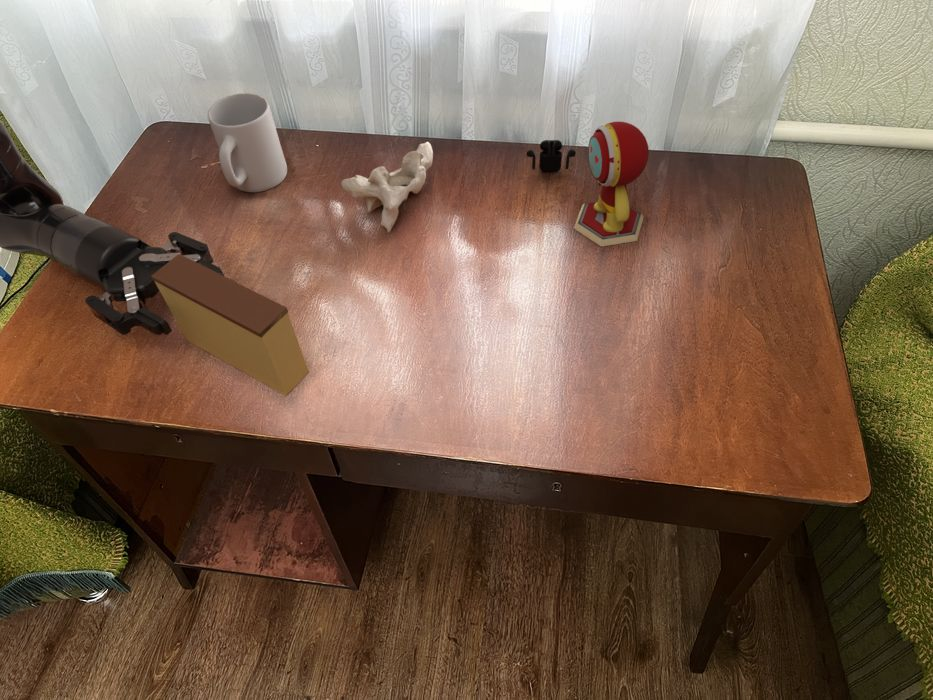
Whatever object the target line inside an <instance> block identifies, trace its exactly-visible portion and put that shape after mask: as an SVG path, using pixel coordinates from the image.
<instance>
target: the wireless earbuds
mask: <svg viewBox="0 0 933 700" xmlns="http://www.w3.org/2000/svg"><path fill="white" fill-rule="evenodd" d="M539 148H540V150H541V151H540V152H539V164H538V167H539V170H540V171H541V172H558V171H560V170H561V168H562V160H563V159H562V158H563V153H562V151H561V149H562V148H563V143H562V141H561V140H560V139H545V140H542V141H541V142H540V144H539ZM576 153H577V151H575V150H574V149H572V148H571V149H569V150H567V153H566V159H565V167H564V168H565V170H569V167H570V158H573V157H575V156H576V155H577V154H576ZM526 156H527V157H528V158H532V162H531V164H532V165H531V169H532V170H535V169H536V159H537V158H536V153H535V150H534V149H528V150H527V151H526Z"/></svg>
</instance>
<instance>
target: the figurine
mask: <svg viewBox="0 0 933 700" xmlns="http://www.w3.org/2000/svg"><path fill="white" fill-rule="evenodd" d="M587 147H588V149H587V156H588V165H589V169H590V172H591V174H592V176H593V178H594V179H595V180H596V181H597V185H598V186H601V187H600V190H599V196H598V199H597V200H593V201H587V202H584V203H583V204H582V205H581V208H580V210H579V213H578V215H577V218H576V221H575V224H574V226H573V230H575V231H577V232H578V233H580V234H581V235H583V236H584V237H586V238H587V239H589V240H590V241H592V242H593V243H595V244H596V245H598V246H600V247H602V248H603V247H608V246H615V245H621V244H627V243H633V242H638V239H639V235H640V232H641V229H642V224H643V221H644V215H643V214H642V212H640V211H638V210H637V209H635V208H633V207H632V206H630V202H629V196H628V189H627V185H629V184H631V183H633V182H634V181H636V180H637V179H638V178H639V177H641V175H642V173H643V172H644V170H645V169H646V167H647V164H648V162H649V161H648V160H649V155H650V150H649V144H648V141H647V138H646V136H645V135H644V133H643V132H642V131H641V130H640V128H638V127H636V125H634V124H632V123H629V122H626V121H619V120H618V121H611V122H608V123H605V124H604V125H600V126H598V127H597V128H596V129H595V130H594V132H593V135H591V137H590V138H589V141H588V145H587Z"/></svg>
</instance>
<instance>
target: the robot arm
mask: <svg viewBox="0 0 933 700" xmlns="http://www.w3.org/2000/svg"><path fill="white" fill-rule="evenodd" d="M7 129H8V128H7V127H6V125H4V123H3V121H2V120H1V119H0V248H1V249H3V250H6V251H8V252H9V251H10V252H14V253H19V254H26V255H33V256H39V257H46V258H47V259H50V260H51V261H52V262H55V263H56V264H59V265H60V266H62V267H63V268H64V269H66V270H67V271H68V272H69V273H71V274H73V275H74V276H75V277H77V278H78V279H80V280H83V281H85V282H86V283H88V284H90V285H92V286H94V287H95V288H98V289H99V290H101V291H102V292H103V293H102V294H101V295H99V296H98V297H97V296H96V295H89V296H87V297H86V298H85V300H84V301H85V303H86V305H87V307H88V308H89V309H90V311H91V312H92V314H93V315H94V317H95V318H97V319H99V320H100V321H101V322H102V323H104V324H106V325H107V326H108V327H110V328H111V329H112V330H114V331H116V332H117V333H119V334H120V335H122V336H127V335H129V334H130V333H131V331H132V329H133V328H135V327H139V328H144V329H145V330H147V331H149V332H150V333H151V334H153V335H156V336H161V335H162V334H164V335H165V336H169V334H170V333H172V332H173V330H172V328H171V326H170V324H169V322H168V321H167V320H166V319H165V318H164V317H162V316H160V315H158V314H157V313H155V312H153V311H151V310H150V309H148V306H147V300H149V299H153V298H155V297H156V296H157V295H158V294H159V293H160V291H159V289H158V287H157V285H156V283H155V281H153V279H152V277H151V276H152V275H153V274H154V273H156V272H157V271H158V270H159V269H161V268H162V267H163V266H164V265H166V264H167V263H168V262H169V261H171V260H172V259H173V258H174V257H176V256H177V255H178V254H181V255H183V256H185V257H187V258H189V259H191V260H193V261H195V262H197V263H199V264H201V265H203V266H205V267H207V268H209V269H211V270H213V271H215V272H217V273H219V274H221V275H223V276H225V274H224V272H223V270H222V269H221V267H219V266H218V265H215V264H214V257H213V256H212V254H211V252H210V248H209V246H208V244H207V243H205V242H202V241H200V240H197V239H194V238H193V237H189V236H187V235H185V234H182V233H180V232H177V231H172V232H169V234H168V235H167V238H168V242H167V243H165V244H164V245H163V246H162V247H159V246H152V245H149V244H148V243H147V242H145V241H143V240H142V239H140V238H139V237H137V236H135V235H132V234H130V233H128V232H126V231H124V230H122V229H120V228H119V227H116V226H114V225H112V224H111V223H108V222H106V221H103V220H101V219H98V218H94V217H91V216H90V215H88V214H85V213H83V212H82V211H80V210H77V209H76V208H73V207H71V206H69V205H66V204H64V200H63V198H62V195H61V194H60V192H59V191H58V190H57V189H56V188H55V187H54V186H53V185H52V184H51V183H50V182H49V181H47V180H46V179H45V178H44V177H42V176H41V175H40V174H39V173H38V172H37V171H36V170H35V169H34V168H33V167H32V166H31V165H30V164H29V163H28V162H27V161H26V159H25V158H24V157H23V155H22V153H21V152H20V150H19V148H18V147H17V145H16V143H15V141H14V140H13V137H12V136H11V135H10V133H9V131H8V130H7ZM114 301H115V302H126V307H127V309H126V310H127V311H125V312H123V313H121V312H120V311H118V310H117V309H115V307H114V304H113V302H114Z"/></svg>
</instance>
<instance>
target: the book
mask: <svg viewBox="0 0 933 700" xmlns="http://www.w3.org/2000/svg"><path fill="white" fill-rule="evenodd" d="M223 275H224V274H223ZM223 275H221V274H219V273H217V272H215V271H213V270H211V269H209V268H207V267H205V266H203V265H201V264H199V263H197V262H195V261H193V260H191V259H189V258H187V257H185V256H183V255H181V254H178V255H177V256H176V257H174V258H173V259H172V260H171V261H169V262H168V263H167V264H166V265H164V266H163V267H162V268H161V269H159V270H158V271H157V272H156V273H154V274H153V275H152V276H151V277H152V279H153V281H155V283H156V285H157V287H158V289H159V293H160V294H161V296H162V298H163V299H164V300H163V301H165V304H166V305H167V307H168V309H169V311H170V312H171V314H172V316H173V318H174V320H175V322H176V323H177V325H178V327H179V329H180V331H181V333H182V335H183V336H184V338H185V341H187V342H189V343H191V344H192V345H194V346H196V347H197V348H200V349H201V350H203V351H205V352H207V353H208V354H210V355H212V356H214V357H215V358H217V359H219V360H220V361H222V362H224V363H226V364H228V365H230V366H231V367H233V368H235V369H237V370H239V371H241V372H242V373H243V374H246V375H248V376H250V377H251V378H253V379H255V380H257V381H258V382H260V383H261V384H263V385H266V386H267V387H269V388H271V389H273V390H274V391H276V392H278V393H280V394H281V395H283V396H285V397H287V396H288V395H289V394H290V393H291V392H292V391H293V390H294V388H295V387H296V386H297V385H298V384H299V383H300V382H301V381H302V380H303V379H304V378H305V377H306V376H307V375H308V373H309V372H310V371H309V368H308V365H307V363H306V360H305V357H304V354H303V352H302V349H301V345H300V343H299V341H298V338H297V334H296V332H295V328H294V325H293V323H292V320H291V318H290V314H289V310H288V308H287V307H286V306H284V305H282V304H281V303H279V302H276V301H274V300H272V299H270V298H268V297H267V296H264V295H263V294H260V293H259V292H257V291H254V290H252V289H251V288H249V287H246V286H244V285H243V284H240V283H239V282H236V281H234V280H232V279H231V278H228V277H226V276H225V275H224V276H223Z"/></svg>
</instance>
